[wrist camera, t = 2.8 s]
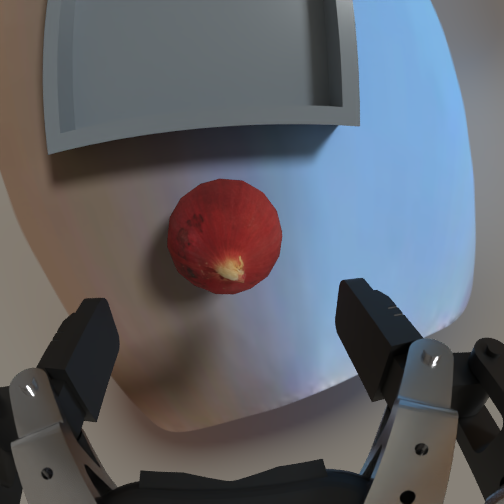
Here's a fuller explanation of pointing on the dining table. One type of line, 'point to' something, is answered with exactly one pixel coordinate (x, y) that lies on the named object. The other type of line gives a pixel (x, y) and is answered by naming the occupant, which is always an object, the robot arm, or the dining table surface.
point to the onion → (224, 236)
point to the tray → (195, 66)
